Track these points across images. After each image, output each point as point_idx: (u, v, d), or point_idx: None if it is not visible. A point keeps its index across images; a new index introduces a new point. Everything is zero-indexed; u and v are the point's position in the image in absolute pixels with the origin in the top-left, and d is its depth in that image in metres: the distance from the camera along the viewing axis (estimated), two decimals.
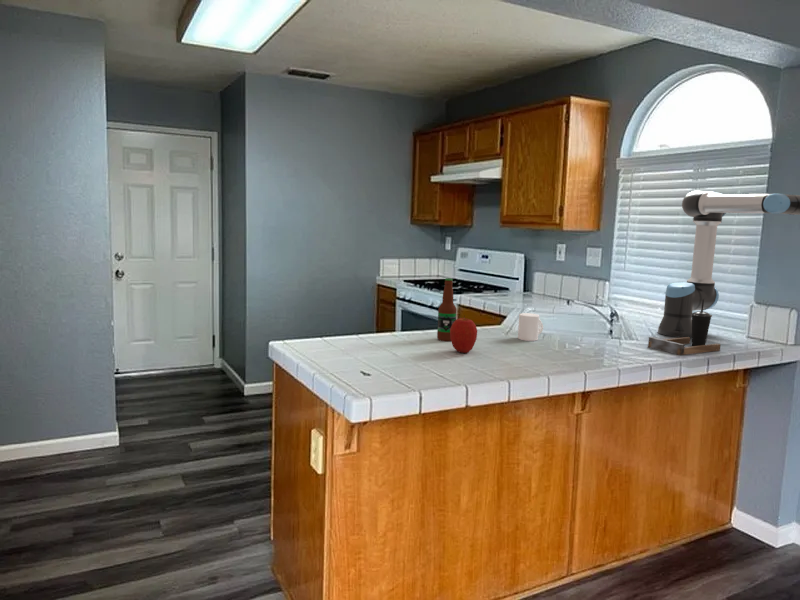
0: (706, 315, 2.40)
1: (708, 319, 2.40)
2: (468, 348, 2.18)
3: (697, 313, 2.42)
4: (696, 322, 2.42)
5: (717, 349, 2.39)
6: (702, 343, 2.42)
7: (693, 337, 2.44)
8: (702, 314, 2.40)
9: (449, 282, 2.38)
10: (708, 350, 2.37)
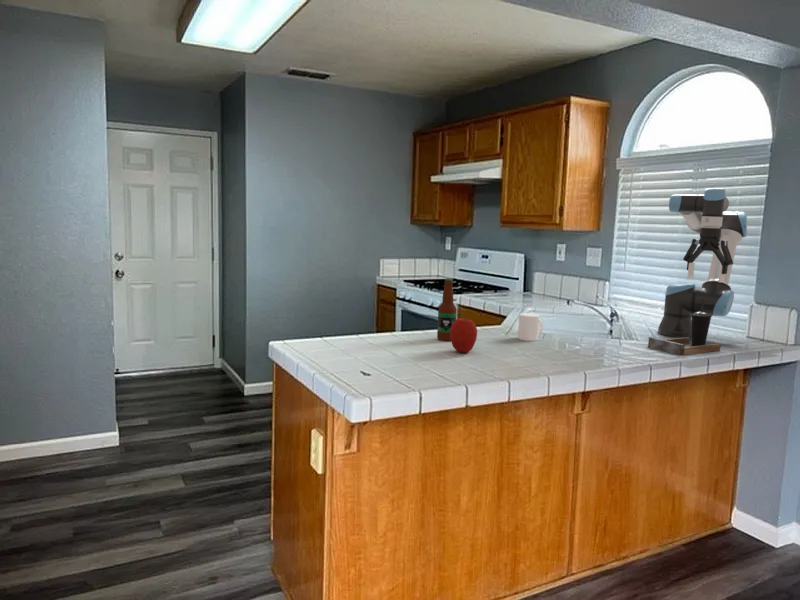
0: (706, 315, 2.40)
1: (708, 319, 2.40)
2: (468, 348, 2.18)
3: (697, 313, 2.42)
4: (696, 322, 2.42)
5: (717, 349, 2.39)
6: (702, 343, 2.42)
7: (693, 337, 2.44)
8: (702, 314, 2.40)
9: (449, 282, 2.38)
10: (708, 350, 2.37)
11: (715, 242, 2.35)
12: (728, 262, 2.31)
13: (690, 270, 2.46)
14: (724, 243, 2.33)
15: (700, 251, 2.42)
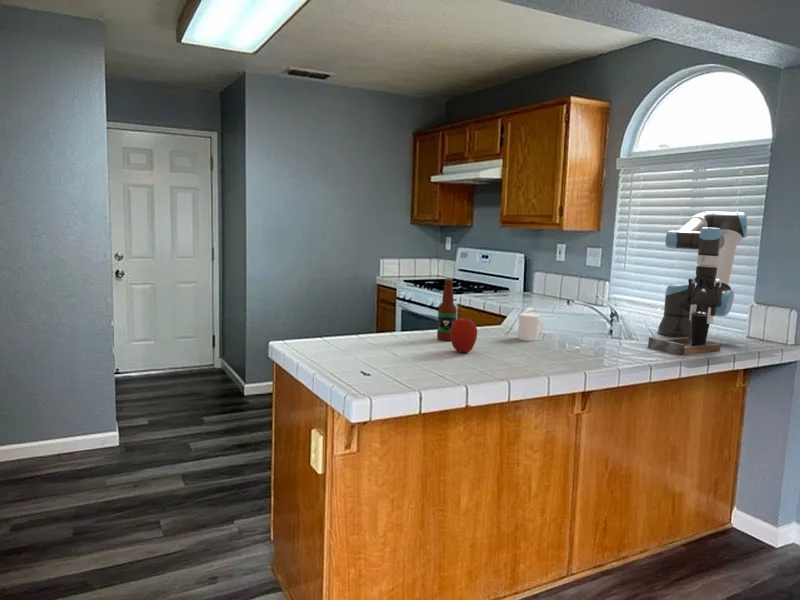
0: (706, 315, 2.40)
1: None
2: (468, 348, 2.18)
3: (697, 313, 2.42)
4: (696, 322, 2.42)
5: (717, 349, 2.39)
6: (702, 343, 2.42)
7: (693, 337, 2.44)
8: (702, 314, 2.41)
9: (449, 282, 2.38)
10: (708, 350, 2.37)
11: (711, 281, 2.38)
12: (716, 305, 2.36)
13: (692, 312, 2.46)
14: (719, 285, 2.35)
15: (699, 290, 2.44)
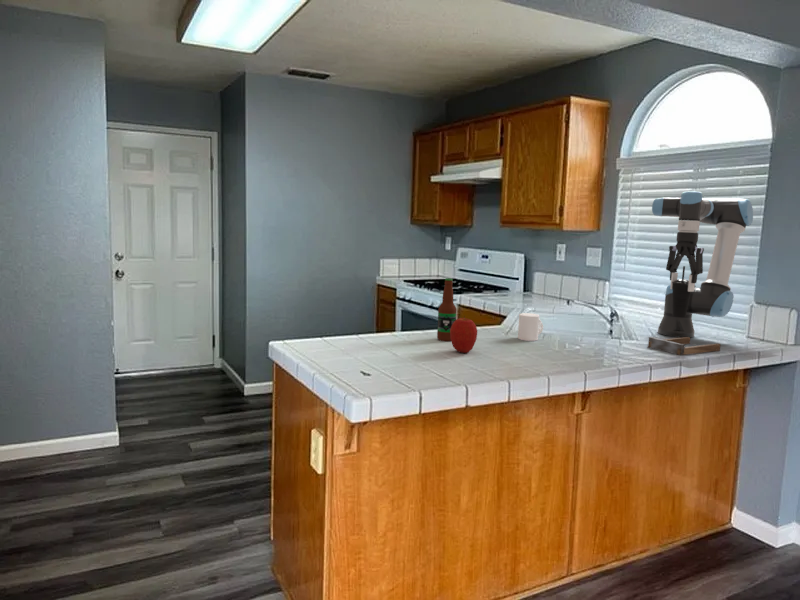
0: (687, 282, 2.32)
1: None
2: (468, 348, 2.18)
3: (678, 281, 2.34)
4: (677, 290, 2.33)
5: (717, 349, 2.39)
6: (683, 312, 2.34)
7: (674, 306, 2.35)
8: (683, 281, 2.32)
9: (449, 282, 2.38)
10: (708, 350, 2.37)
11: (692, 247, 2.29)
12: (697, 271, 2.28)
13: (673, 280, 2.37)
14: (700, 251, 2.27)
15: (680, 257, 2.35)
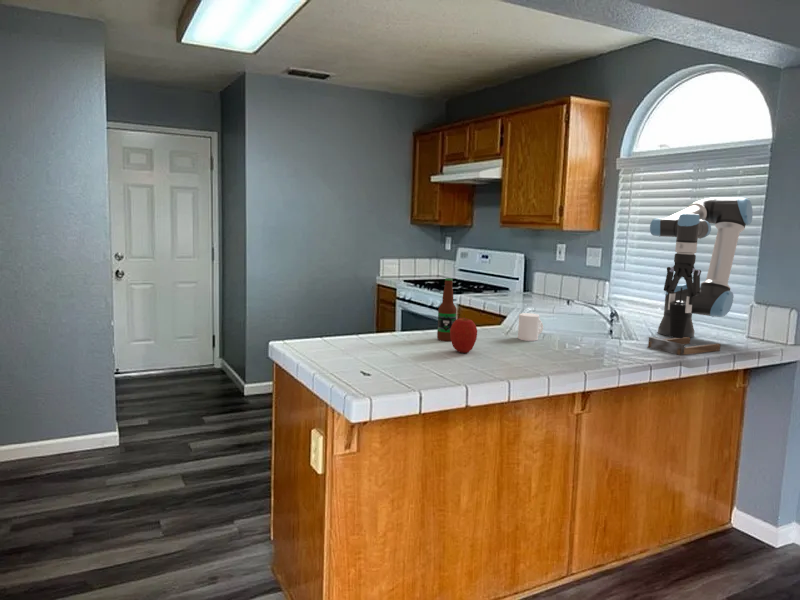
0: (684, 304, 2.33)
1: None
2: (468, 348, 2.18)
3: (675, 302, 2.35)
4: (674, 312, 2.34)
5: (717, 349, 2.39)
6: (680, 333, 2.35)
7: (671, 327, 2.37)
8: (680, 303, 2.33)
9: (449, 282, 2.38)
10: (708, 350, 2.37)
11: (689, 269, 2.30)
12: (695, 293, 2.29)
13: (670, 301, 2.39)
14: (697, 273, 2.28)
15: (677, 278, 2.36)
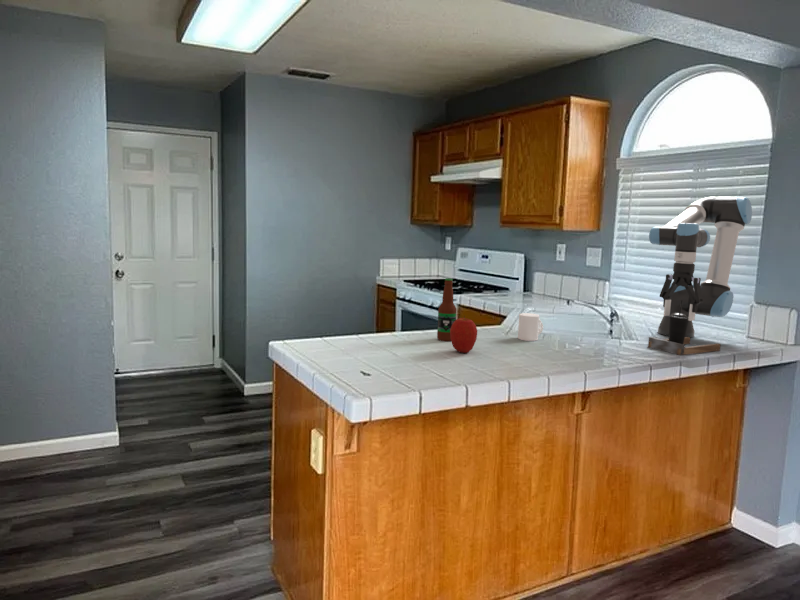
0: (684, 317, 2.33)
1: (686, 321, 2.34)
2: (468, 348, 2.18)
3: (675, 315, 2.35)
4: (674, 324, 2.35)
5: (717, 349, 2.39)
6: None
7: (670, 339, 2.37)
8: (680, 316, 2.34)
9: (449, 282, 2.38)
10: (708, 350, 2.37)
11: (688, 278, 2.31)
12: (698, 301, 2.28)
13: (666, 307, 2.40)
14: (697, 281, 2.28)
15: (675, 287, 2.37)
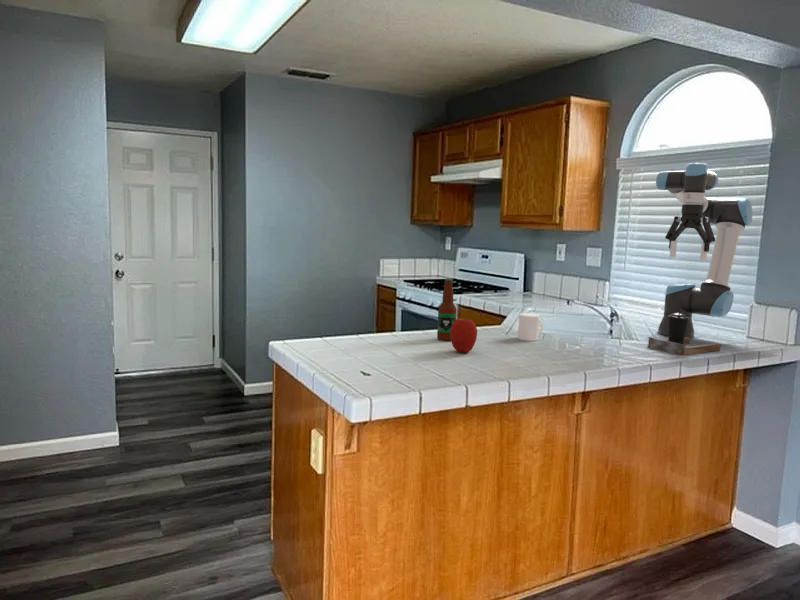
0: (683, 317, 2.34)
1: (685, 321, 2.34)
2: (468, 348, 2.18)
3: (674, 315, 2.36)
4: (673, 324, 2.35)
5: (717, 349, 2.39)
6: None
7: (670, 339, 2.38)
8: (679, 316, 2.34)
9: (449, 282, 2.38)
10: (708, 350, 2.37)
11: (697, 219, 2.28)
12: (710, 239, 2.24)
13: (672, 248, 2.39)
14: (706, 220, 2.26)
15: (682, 229, 2.35)
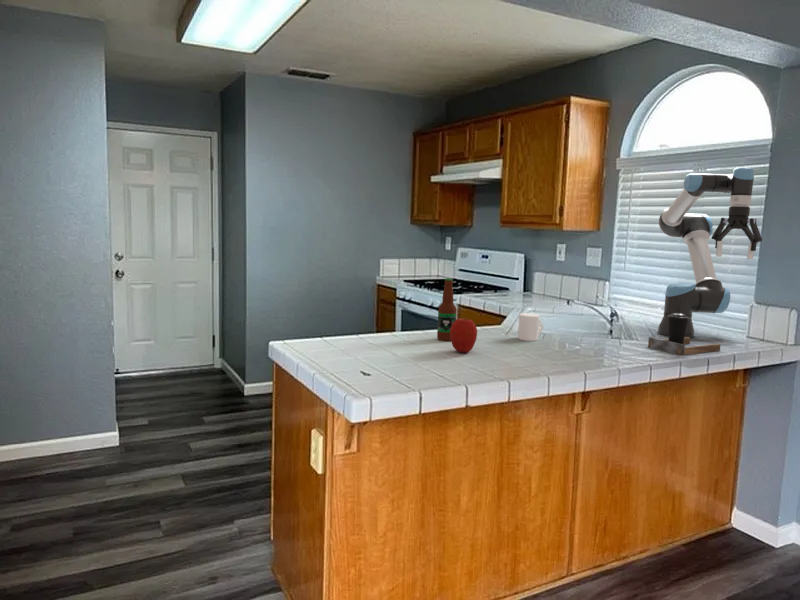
0: (683, 317, 2.34)
1: (685, 321, 2.34)
2: (468, 348, 2.18)
3: (674, 315, 2.35)
4: (673, 324, 2.35)
5: (717, 349, 2.39)
6: None
7: (670, 339, 2.38)
8: (679, 316, 2.34)
9: (449, 282, 2.38)
10: (708, 350, 2.37)
11: (744, 220, 2.42)
12: (757, 239, 2.38)
13: (718, 248, 2.53)
14: (753, 221, 2.39)
15: (729, 229, 2.49)
